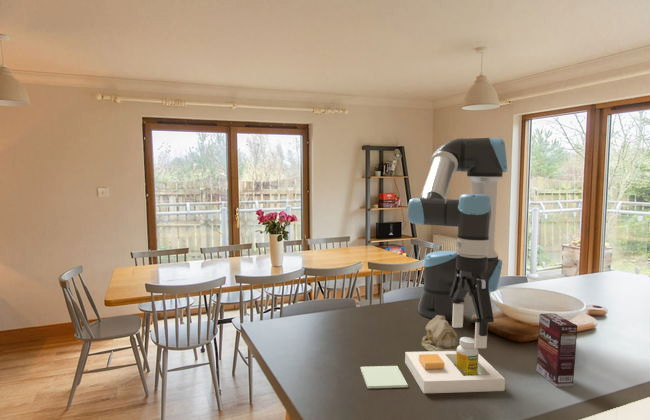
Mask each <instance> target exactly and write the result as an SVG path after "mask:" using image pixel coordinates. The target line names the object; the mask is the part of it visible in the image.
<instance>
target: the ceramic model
mask: <svg viewBox="0 0 650 420" xmlns="http://www.w3.org/2000/svg"><path fill="white" fill-rule="evenodd" d="M425 330H426V335H424V336H422V339H421V347H423V348H424V349H425V350H426V352H427V351H457V347H458V346H459V345H458V341H457V340H456V339H458V335H457V332H456V331H455V330H454V329H453V327H452V325H451V324H450V323H449V322H448V320H445V316H444V315H441V316H440V315H436V317H435V318H431V320H429V321H428V322H427V324H426V326H425Z"/></svg>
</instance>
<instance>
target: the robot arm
mask: <svg viewBox="0 0 650 420" xmlns="http://www.w3.org/2000/svg"><path fill="white" fill-rule="evenodd" d="M506 149H507V148H506V142H505V140H504V139H503V138H500V137H499V138H498V137H480V138H479V137H478V138H477V137H474V138H463V137H462V138H455V139H452V140H449V141H447V142H445V143H443V144H442V145H440V146H439V147H438V148H436V149H435V151H434V152H433V153H432V155H431V157H430V159H429V162H428V163H429V165H428V166H429V171H428V173H427V177H426V179H425V182H424V184H423V188H422V190H421V193H420V196H419V197H412V198H410V199H409V201H408V204H407V219H408V222H409V223H411V224H414V225H420V226H424V225H425V226H441V227H442V226H443V227H457V238H456V239H457V241H456V242H455V245H456V251H453V250H439V251H433V252H432V251H431V252H429V253H427V254H426V255H425V257H424V265H423V291H422V294H421V297H420V299H419V302H418V304H417V305H418V306H417V313H419V314H420V315H421V316H424V318H425V317H426V318H429V319H433V318H435V317H436V315H440V316H441V315H444V316H445V320H446V321H448V320H452V321H451V327H452V328H454V329H455V328H463V326H464V325H463V324H464V310H465V308H464V305H465V304H464V303H465V300H464V299H465V298H466V296H467V293H468V295H469V296H470V297H471V300H472V305H473V308H474V312H475V315H476V319H475V320H474V321H475V325H474V326H475V327H474V328H475V329H474V339H475V342H474V347H475V348H477V349H487V347H488V346H487V344H488V343H487V342H488V328H489V327H488V326H489V323H494V320H495V319H494V313H493V308H492V303H491V302H492V301H491V297H490V296H491V295H490V293H493V292H495V291H497V289H498V287H499V283H500V278H501V273H502V267H503V260H501V259H500V258H499V254H498V252H496V251H495V237H496V234H495V233H496V214H497V212H496V211H497V197H498V196H497V195H498V183H499V181H500V180H501V179H502V178H503V175H504V174H503V173H507V172H508V161H507V151H506ZM456 172H463V173H464V172H466V178H467V179H469V181H470V193H463V194H460V196H459V199H451V198H449V199H448V198H447V197H448V192H449V190H450V186H451V182H452V178H453V175H454V174H455V173H456Z"/></svg>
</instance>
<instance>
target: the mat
mask: <svg viewBox="0 0 650 420" xmlns="http://www.w3.org/2000/svg"><path fill="white" fill-rule="evenodd" d="M359 369H360V371H361V372H360V373H361V374H362V377H363V380H364V383H365V385H366V388H367V389H392V388H396V389H397V388H409V384H408V383H407V381H406V379H405V377H404V375H403V373H402V371H401V370H400V368H399V366H398V365H382V366H381V365H377V366H376V365H375V366H371V365H370V366H360V367H359Z"/></svg>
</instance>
